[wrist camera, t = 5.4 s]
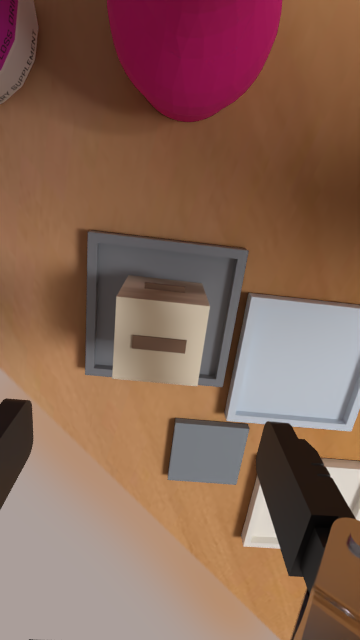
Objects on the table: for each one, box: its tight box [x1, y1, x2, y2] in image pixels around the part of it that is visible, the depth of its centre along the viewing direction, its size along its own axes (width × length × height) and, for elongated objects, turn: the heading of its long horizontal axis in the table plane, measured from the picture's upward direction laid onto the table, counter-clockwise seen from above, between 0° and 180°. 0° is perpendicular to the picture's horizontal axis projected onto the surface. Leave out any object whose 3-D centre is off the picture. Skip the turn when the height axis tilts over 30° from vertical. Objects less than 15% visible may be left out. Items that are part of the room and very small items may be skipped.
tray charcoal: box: [85, 230, 249, 387], centre depth 23 cm, size 10×10×1 cm
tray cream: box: [241, 458, 360, 548], centre depth 30 cm, size 10×10×1 cm
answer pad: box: [168, 418, 249, 485], centre depth 27 cm, size 6×6×1 cm
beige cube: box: [112, 275, 210, 386], centre depth 20 cm, size 5×5×5 cm
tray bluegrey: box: [225, 293, 360, 431], centre depth 24 cm, size 10×10×1 cm
